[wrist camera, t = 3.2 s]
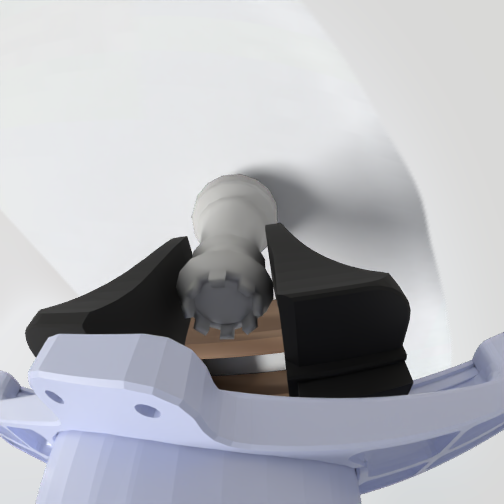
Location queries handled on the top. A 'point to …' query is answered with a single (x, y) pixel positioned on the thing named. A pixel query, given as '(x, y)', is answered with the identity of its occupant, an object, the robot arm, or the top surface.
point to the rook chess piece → (228, 257)
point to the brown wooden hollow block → (244, 353)
